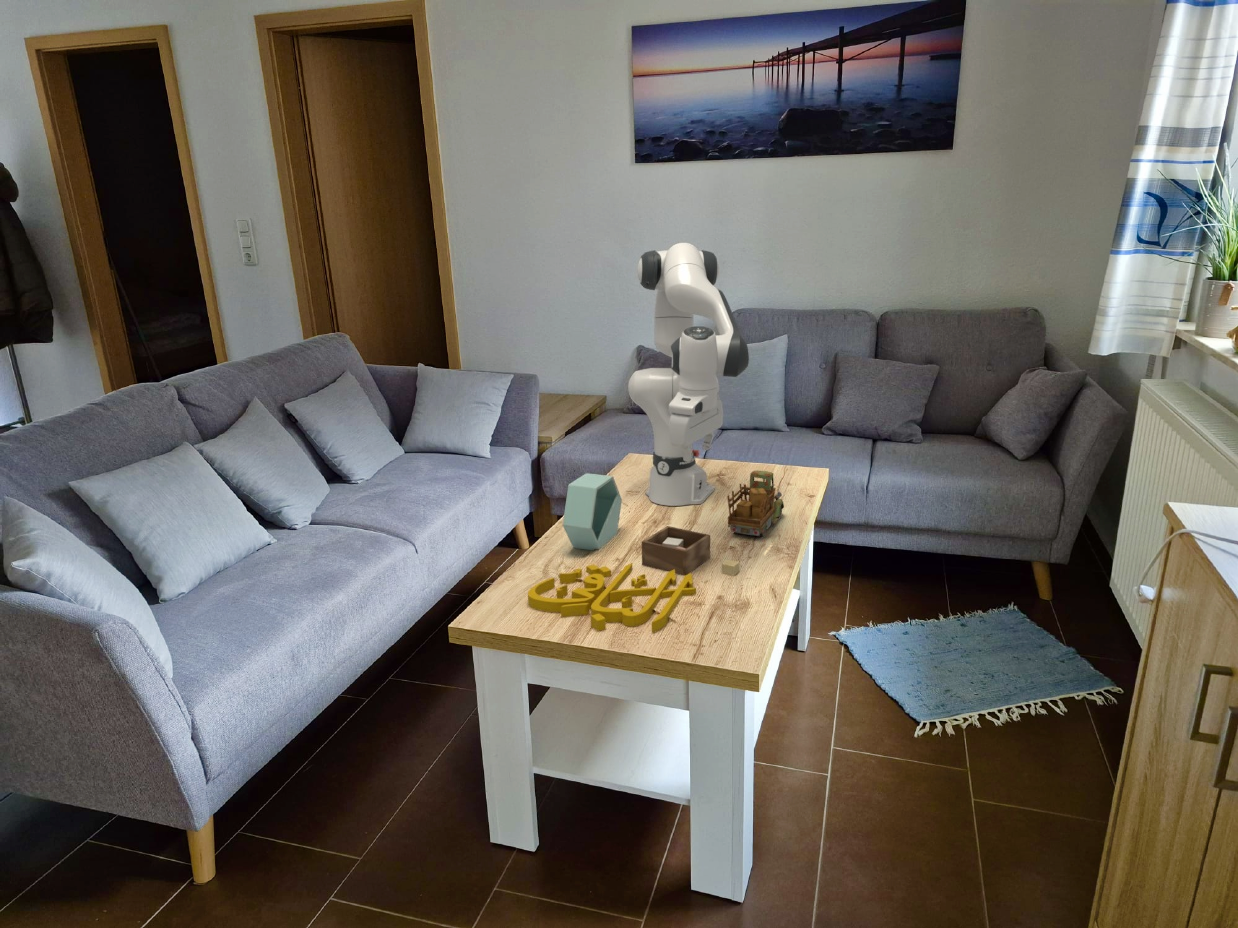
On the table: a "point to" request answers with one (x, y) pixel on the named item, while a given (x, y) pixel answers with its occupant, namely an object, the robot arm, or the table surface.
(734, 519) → the toy truck
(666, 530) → the walnut box
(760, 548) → the table surface
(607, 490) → the planter
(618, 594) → the decorative art
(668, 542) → the cream cube
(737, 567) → the lid
